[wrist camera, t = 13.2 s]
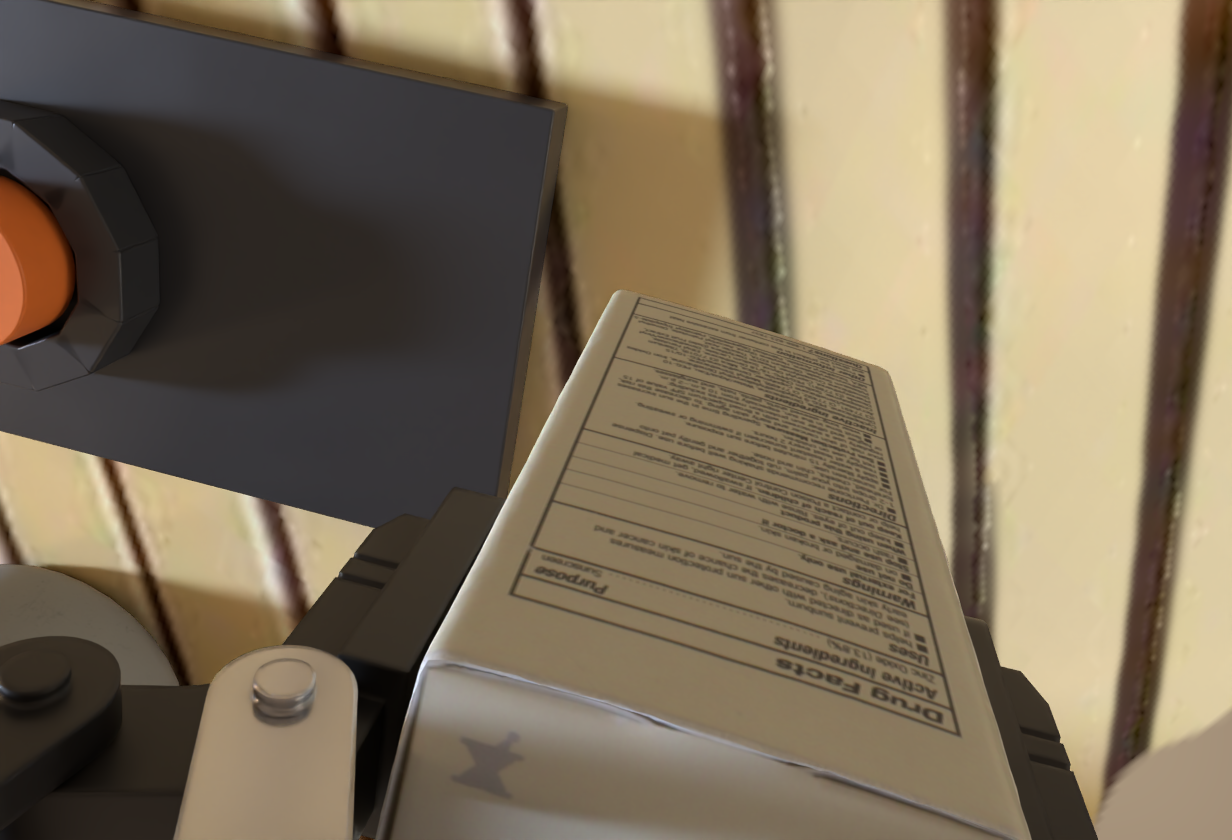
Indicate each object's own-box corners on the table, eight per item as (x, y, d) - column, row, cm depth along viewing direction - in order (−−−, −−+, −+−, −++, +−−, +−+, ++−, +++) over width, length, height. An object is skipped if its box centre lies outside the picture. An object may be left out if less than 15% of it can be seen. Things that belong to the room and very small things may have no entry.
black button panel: (-21, 398, 29) (-105, 439, 26) (-67, -34, 24) (-178, -39, 21) (501, 533, 28) (469, 590, 25) (568, 104, 23) (537, 117, 20)
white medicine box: (553, 491, 18) (314, 979, 9) (616, 277, 16) (395, 622, 7) (815, 580, 18) (837, 1169, 9) (909, 373, 16) (1059, 852, 7)
